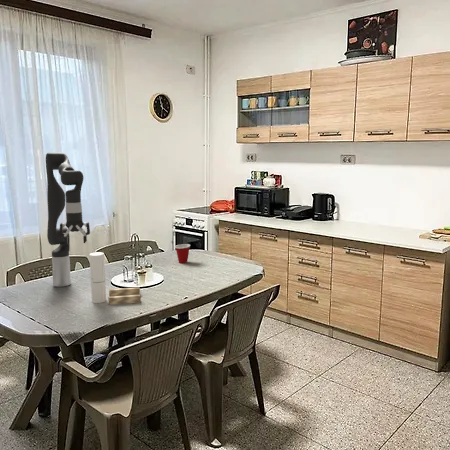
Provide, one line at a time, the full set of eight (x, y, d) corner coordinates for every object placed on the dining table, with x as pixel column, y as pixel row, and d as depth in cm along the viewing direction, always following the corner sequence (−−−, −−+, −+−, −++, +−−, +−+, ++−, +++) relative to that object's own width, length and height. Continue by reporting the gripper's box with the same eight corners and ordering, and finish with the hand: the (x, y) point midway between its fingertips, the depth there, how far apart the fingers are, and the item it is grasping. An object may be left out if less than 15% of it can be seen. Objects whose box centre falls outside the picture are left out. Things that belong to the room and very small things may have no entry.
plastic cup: (174, 260, 308) (173, 243, 306) (189, 260, 310) (189, 243, 308) (175, 264, 298) (175, 247, 296) (191, 264, 300) (191, 246, 297)
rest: (108, 304, 224) (108, 298, 223) (109, 295, 237) (109, 289, 236) (140, 302, 227) (140, 295, 227) (139, 293, 241) (139, 287, 240)
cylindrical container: (100, 297, 234) (98, 251, 230) (109, 300, 230) (106, 253, 225) (89, 300, 229) (86, 254, 224) (97, 304, 224) (94, 256, 220)
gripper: (89, 209, 224) (91, 241, 227) (59, 210, 221) (61, 242, 224) (88, 212, 217) (90, 244, 220) (57, 212, 213) (59, 245, 216)
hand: (75, 243), depth 222 cm, fingers open, 8 cm apart
